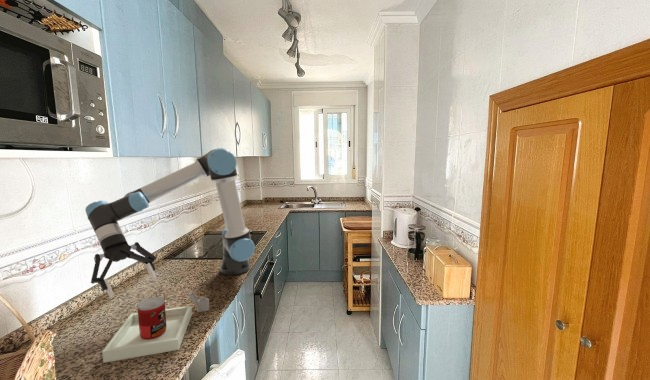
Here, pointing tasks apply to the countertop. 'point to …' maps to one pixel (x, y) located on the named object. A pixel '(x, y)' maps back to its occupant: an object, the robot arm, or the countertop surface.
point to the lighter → (200, 302)
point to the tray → (133, 345)
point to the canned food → (152, 317)
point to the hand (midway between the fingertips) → (134, 287)
